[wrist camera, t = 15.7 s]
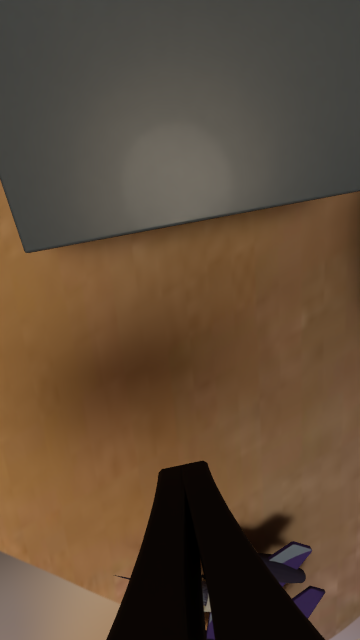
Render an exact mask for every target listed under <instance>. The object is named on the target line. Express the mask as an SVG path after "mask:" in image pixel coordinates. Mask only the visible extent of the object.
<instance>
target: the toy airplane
mask: <svg viewBox="0 0 360 640" xmlns="http://www.w3.org/2000/svg"><path fill="white" fill-rule="evenodd" d="M311 552H312V549H311V547H310V546H307V545H304V544H301V543H297V542H294V541H293V542H290V543H289V544H287V545H286V546H284V547H283V548H281V549H280V550H278V551H277V552H275V553H274V554H264V553H258V554H259V556H260V557H261V559H262V560H263V562H264V563H265V564H266V566H267V567H268V569H269V570H270V571H271V573H272V574H273V575H274V577H275V578H276V579H277V581H278V582H279V583H280V585H281V586H282V587H283V586H284V585H285V584H286V583H303V582H304V581H305V579H306V576H305V573H304V571H303V570H302V569H300V568H299V567H300V565H301V564H302V563H303V562H304V561H305V559H306V558H307V557H308V556H309V554H310V553H311ZM115 576H116V575H115ZM118 577H121V576H118ZM201 577H202V578H204V579H205V576H204V575H202V576H201ZM122 578H125V579H129V580H130V578H126V577H122ZM202 590H203V604H204V612H210V614H209V620H208V626H207V630H205V631H206V640H215V636H214V629H213V622H212V615H211V608H210V602H209V595H208V589H207V584H206V582H205V581H202ZM324 594H325V590H324V589H320V588H317V587H313V586H309V587H308V588H306V589H305V590H303V591H302V592H301V593H299V594H298V595H296V596H295V597H294V598H292V600H293V601H294V603H295V604H296V605H297V606H298V608H299V609H300V610H301V611H302V613H303V614H304V615H305V616H306V617H307V619H308V618H309V616H310V615H311V613H312V612H313V610H314V609H315V607H316V606H317V604H318V603H319V601H320V600H321V598H322V597H323V595H324Z"/></svg>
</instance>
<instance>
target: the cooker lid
mask: <svg viewBox="0 0 360 640" xmlns="http://www.w3.org/2000/svg"><path fill="white" fill-rule="evenodd" d="M0 180H1V183H2V186H3V189H4V192H5V195H6V198H7V200H8V203H9V206H10V209H11V212H12V215H13V218H14V221H15V224H16V227H17V230H18V233H19V236H20V239H21V242H22V245H23V248H24V251H25V252H26V253H31V252H37V251H42V250H47V249H53V248H58V247H63V246H69V245H74V244H79V243H85V242H90V241H95V240H101V239H106V238H112V237H117V236H122V235H128V234H133V233H138V232H144V231H149V230H154V229H160V228H165V227H170V226H176V225H181V224H186V223H192V222H197V221H202V220H208V219H213V218H219V217H224V216H229V215H235V214H240V213H245V212H251V211H256V210H261V209H267V208H272V207H277V206H283V205H288V204H293V203H299V202H304V201H310V200H315V199H320V198H326V197H331V196H336V195H342V194H347V193H352V192H358V191H360V0H0Z"/></svg>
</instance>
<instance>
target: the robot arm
mask: <svg viewBox="0 0 360 640" xmlns="http://www.w3.org/2000/svg"><path fill="white" fill-rule="evenodd" d="M200 559H201V563H202V567H203V572H204V576H205V580H206V584H207V589H208V595H209V602H210V608H211V615H212V622H213V629H214V636H215V640H325V639H324V638H323V637H322V636H321V634H320V633H319V632H318V631H317V630H316V628H315V627H314V626H313V625H312V623H311V622H310V621H309V620H308V619H307V617H306V616H305V615H304V614H303V613H302V611H301V610H300V609H299V608H298V606H297V605H296V604H295V603H294V601H293V600H292V599H291V598H290V596H289V595H288V594H287V592H286V591H285V590H284V589H283V587H282V586H281V585H280V583H279V582H278V581H277V579H276V578H275V577H274V575H273V574H272V573H271V571H270V570H269V569H268V567H267V566H266V564H265V563H264V562H263V560H262V559H261V557H260V556H259V554H258V553H257V552H256V550H255V549H254V547H253V546H252V544H251V543H250V541H249V540H248V538H247V537H246V535H245V534H244V532H243V531H242V529H241V528H240V526H239V524H238V523H237V521H236V519H235V518H234V516H233V515H232V513H231V511H230V510H229V508H228V506H227V505H226V503H225V501H224V499H223V497H222V495H221V494H220V492H219V490H218V488H217V486H216V484H215V482H214V479H213V477H212V475H211V472H210V470H209V467H208V464H207V463H206V462H205V461H199V462H194V463H189V464H185V465H180V466H175V467H170V468H165V469H162V470H161V471H160V472H159V475H158V482H157V488H156V493H155V498H154V502H153V506H152V510H151V514H150V518H149V521H148V525H147V528H146V532H145V535H144V539H143V542H142V545H141V549H140V552H139V555H138V558H137V560H136V563H135V566H134V569H133V572H132V575H131V578H130V581H129V584H128V586H127V589H126V592H125V595H124V597H123V600H122V602H121V605H120V608H119V610H118V613H117V615H116V618H115V620H114V623H113V625H112V627H111V630H110V632H109V635H108V637H107V639H106V640H206V631H205V617H204V604H203V590H202V577H201V564H200Z"/></svg>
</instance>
